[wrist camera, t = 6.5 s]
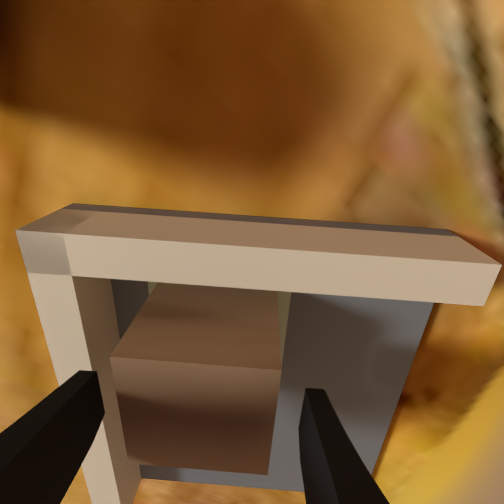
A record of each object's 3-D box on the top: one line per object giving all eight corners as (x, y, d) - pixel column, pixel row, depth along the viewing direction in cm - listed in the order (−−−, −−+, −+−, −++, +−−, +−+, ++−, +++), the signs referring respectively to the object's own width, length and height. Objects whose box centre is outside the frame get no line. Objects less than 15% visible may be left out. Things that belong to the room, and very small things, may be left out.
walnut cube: (267, 368, 15) (267, 475, 11) (168, 360, 16) (128, 463, 11) (276, 282, 13) (281, 370, 9) (162, 274, 13) (109, 356, 9)
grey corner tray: (359, 483, 20) (376, 547, 17) (122, 463, 21) (97, 522, 18) (447, 229, 13) (502, 264, 10) (72, 203, 13) (15, 230, 10)
